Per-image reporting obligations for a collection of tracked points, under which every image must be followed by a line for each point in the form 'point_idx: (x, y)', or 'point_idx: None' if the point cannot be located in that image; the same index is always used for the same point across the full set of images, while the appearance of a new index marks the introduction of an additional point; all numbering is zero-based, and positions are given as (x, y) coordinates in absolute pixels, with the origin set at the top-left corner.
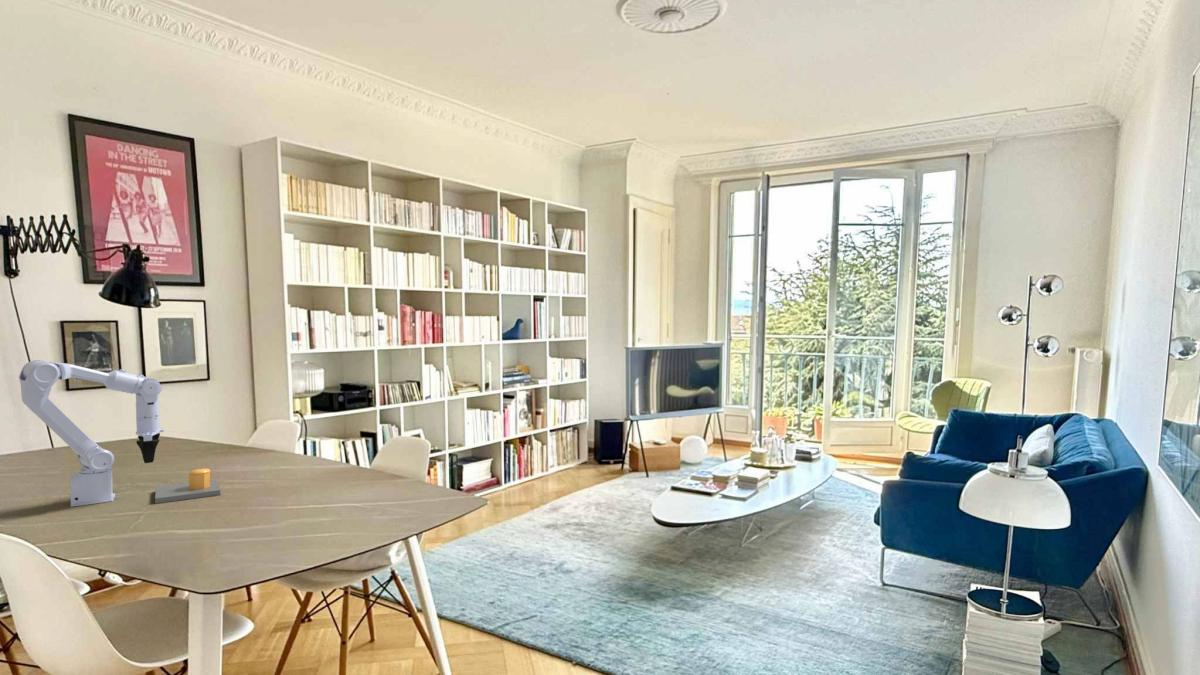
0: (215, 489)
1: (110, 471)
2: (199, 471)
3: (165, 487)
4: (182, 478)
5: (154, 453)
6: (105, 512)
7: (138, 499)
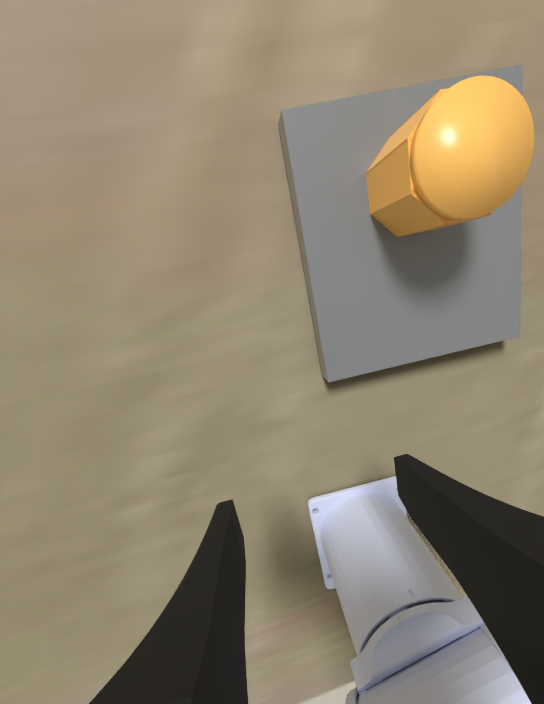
0: None
1: (436, 591)
2: (494, 147)
3: (356, 341)
4: (90, 327)
5: (467, 486)
6: (513, 453)
7: (400, 406)
